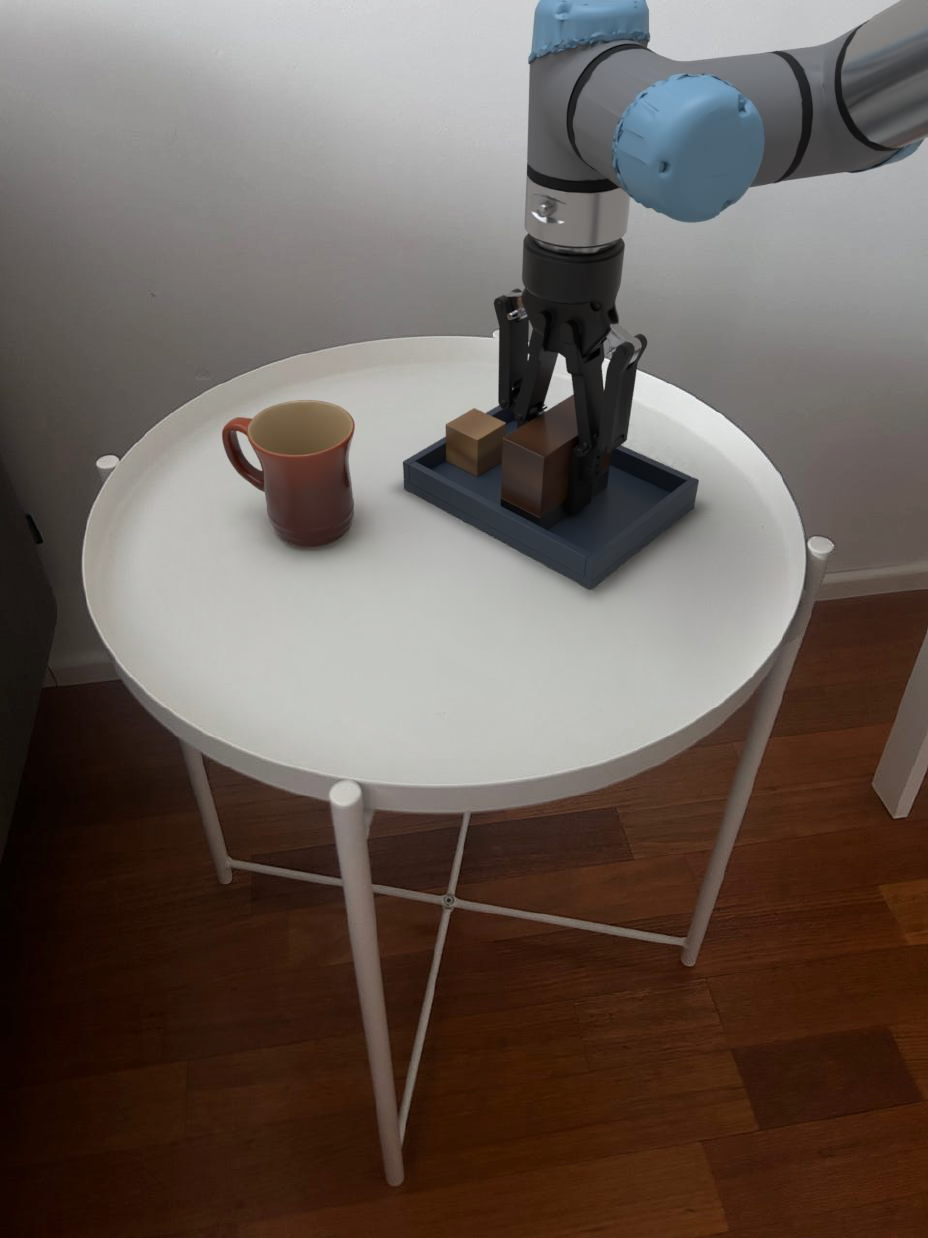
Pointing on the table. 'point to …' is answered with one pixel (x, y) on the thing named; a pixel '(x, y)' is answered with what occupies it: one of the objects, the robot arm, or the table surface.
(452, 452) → the wooden cube
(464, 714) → the table surface
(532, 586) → the table surface
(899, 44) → the robot arm
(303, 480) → the mug
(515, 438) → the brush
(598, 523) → the tray
